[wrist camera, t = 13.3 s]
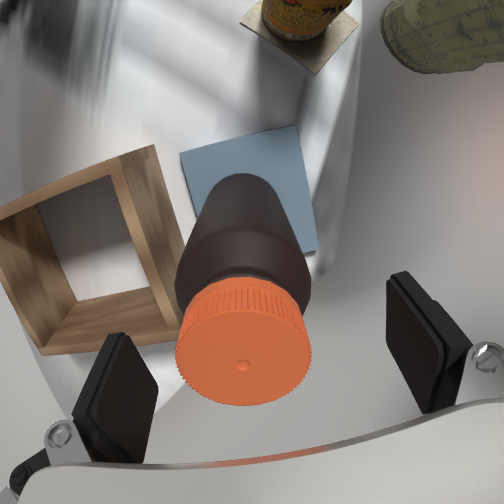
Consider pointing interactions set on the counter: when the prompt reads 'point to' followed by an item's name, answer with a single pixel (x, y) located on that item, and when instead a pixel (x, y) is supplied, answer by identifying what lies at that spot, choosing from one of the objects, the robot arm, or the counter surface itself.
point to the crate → (56, 285)
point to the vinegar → (243, 297)
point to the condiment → (303, 27)
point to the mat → (258, 174)
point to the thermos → (444, 34)
